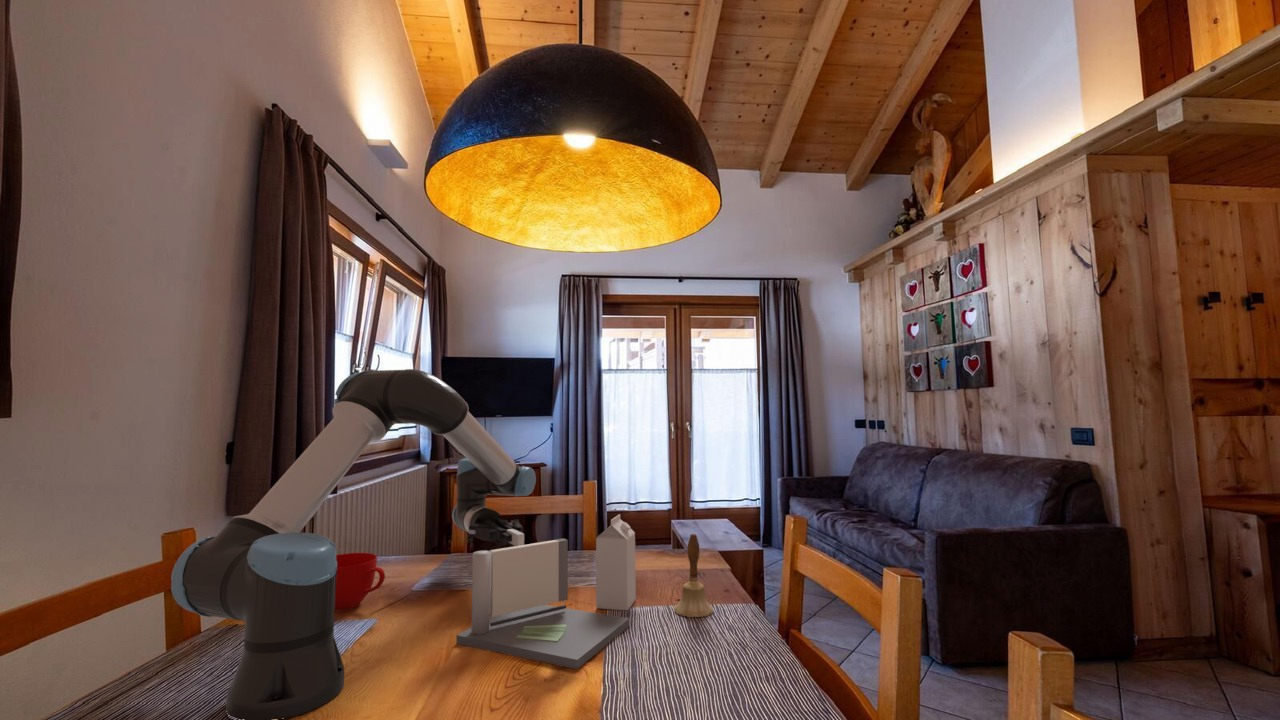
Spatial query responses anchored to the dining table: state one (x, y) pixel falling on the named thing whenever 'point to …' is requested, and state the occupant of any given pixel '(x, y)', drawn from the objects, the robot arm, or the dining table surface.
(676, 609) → the hand bell
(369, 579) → the ceramic cup
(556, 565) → the hinged door panel
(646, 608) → the dining table surface
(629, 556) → the milk carton
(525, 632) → the grey flat slab
